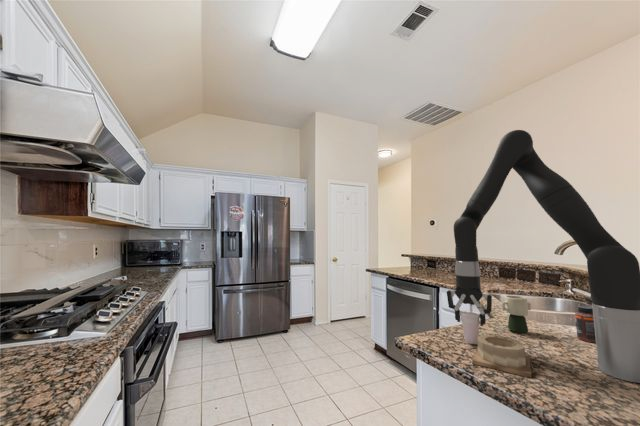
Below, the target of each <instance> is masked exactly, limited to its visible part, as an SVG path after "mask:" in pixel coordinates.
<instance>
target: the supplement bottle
mask: <svg viewBox="0 0 640 426" xmlns="http://www.w3.org/2000/svg"><path fill="white" fill-rule="evenodd" d="M574 318H575V319H574V321H575V328H576V329H575V330H576V337H577V339H579V340H580V341H583V342H587V343H593V344H594V343H595V344H596V337H595V327H594V317H593V308H592V306H587V305H577V311H576V312H575V313H574Z"/></svg>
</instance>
